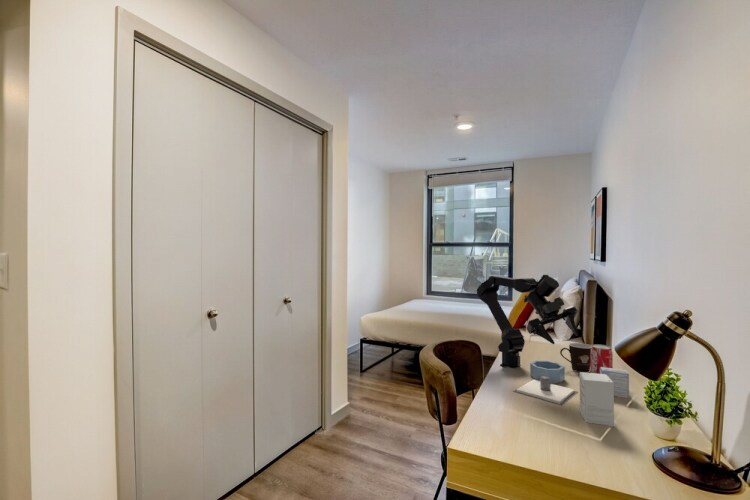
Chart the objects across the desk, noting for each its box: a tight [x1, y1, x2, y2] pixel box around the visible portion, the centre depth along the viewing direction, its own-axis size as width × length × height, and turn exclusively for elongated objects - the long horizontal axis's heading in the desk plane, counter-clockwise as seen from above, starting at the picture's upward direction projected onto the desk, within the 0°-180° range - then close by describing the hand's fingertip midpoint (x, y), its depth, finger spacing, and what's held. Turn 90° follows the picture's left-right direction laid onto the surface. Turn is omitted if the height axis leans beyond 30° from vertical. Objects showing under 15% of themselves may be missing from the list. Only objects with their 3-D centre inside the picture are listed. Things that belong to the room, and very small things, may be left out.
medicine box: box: [600, 367, 630, 399], centre depth 124 cm, size 8×4×9 cm, turn 65°
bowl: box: [529, 360, 566, 384], centre depth 139 cm, size 11×11×6 cm
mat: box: [512, 383, 579, 407], centre depth 125 cm, size 16×16×1 cm
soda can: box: [589, 343, 614, 374], centre depth 138 cm, size 7×7×13 cm
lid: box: [516, 376, 575, 404], centre depth 125 cm, size 14×14×5 cm
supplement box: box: [579, 372, 615, 428], centre depth 105 cm, size 7×7×13 cm
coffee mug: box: [559, 342, 592, 373], centre depth 151 cm, size 12×9×10 cm
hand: (565, 339), depth 130 cm, fingers open, 9 cm apart
